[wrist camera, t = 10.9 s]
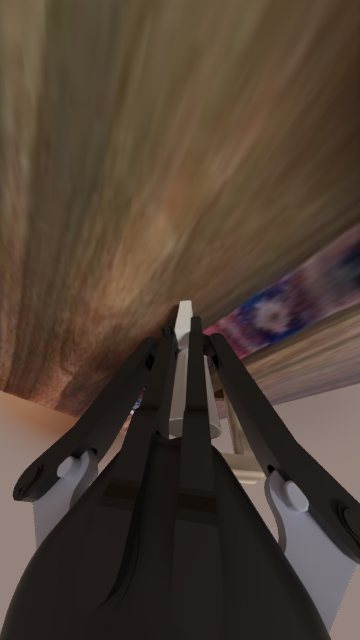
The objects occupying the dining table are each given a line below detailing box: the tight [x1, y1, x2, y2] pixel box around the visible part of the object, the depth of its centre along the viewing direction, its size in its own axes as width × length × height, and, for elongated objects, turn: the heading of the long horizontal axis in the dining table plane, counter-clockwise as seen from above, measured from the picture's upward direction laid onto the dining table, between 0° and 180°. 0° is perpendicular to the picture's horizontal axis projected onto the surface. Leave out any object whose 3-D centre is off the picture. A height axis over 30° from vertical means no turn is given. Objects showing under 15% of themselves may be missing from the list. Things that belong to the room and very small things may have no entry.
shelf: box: [209, 366, 265, 484], centre depth 23 cm, size 8×16×15 cm, turn 98°
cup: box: [169, 349, 222, 439], centre depth 22 cm, size 8×8×12 cm
